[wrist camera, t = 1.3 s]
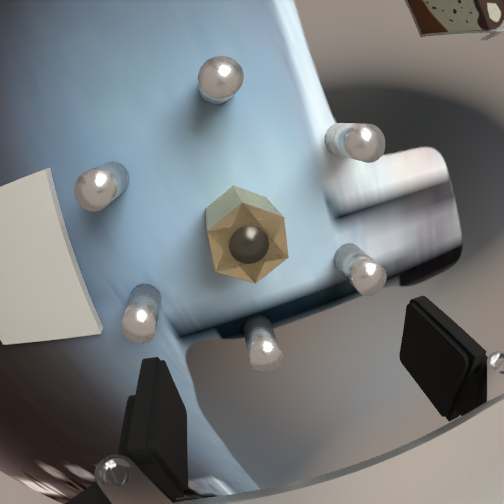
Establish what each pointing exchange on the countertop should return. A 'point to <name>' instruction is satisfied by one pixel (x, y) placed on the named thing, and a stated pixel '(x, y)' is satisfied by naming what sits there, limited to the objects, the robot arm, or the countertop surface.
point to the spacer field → (256, 327)
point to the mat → (39, 267)
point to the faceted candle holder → (245, 235)
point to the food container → (457, 16)
